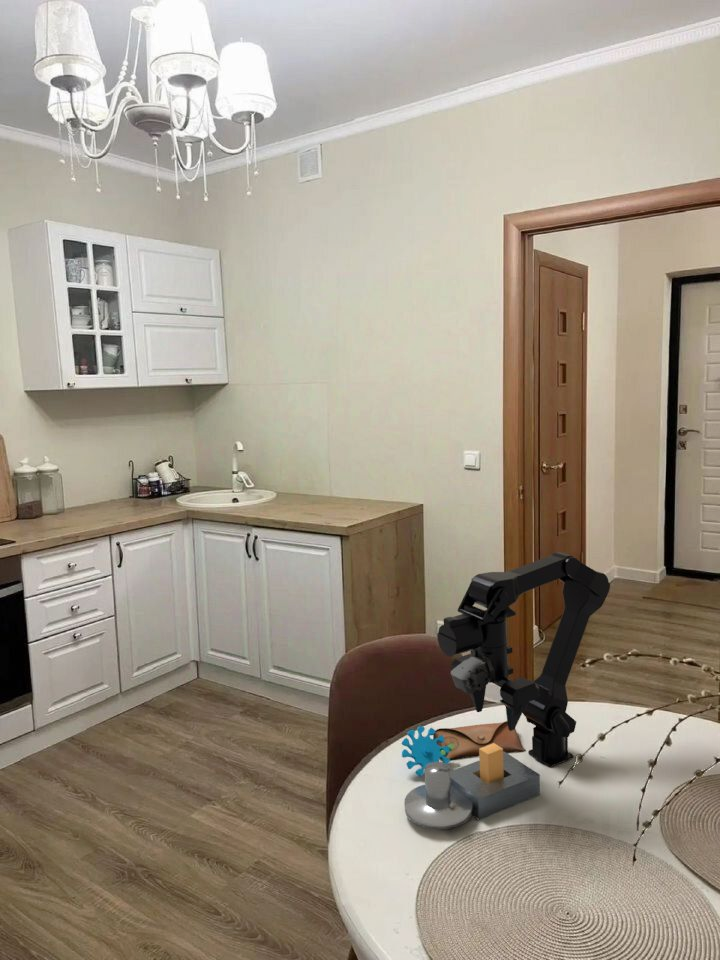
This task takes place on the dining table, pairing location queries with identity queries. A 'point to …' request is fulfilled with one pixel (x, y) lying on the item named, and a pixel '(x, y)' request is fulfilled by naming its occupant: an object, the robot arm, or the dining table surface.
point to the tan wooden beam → (491, 763)
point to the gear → (425, 749)
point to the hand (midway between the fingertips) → (495, 720)
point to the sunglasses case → (478, 739)
